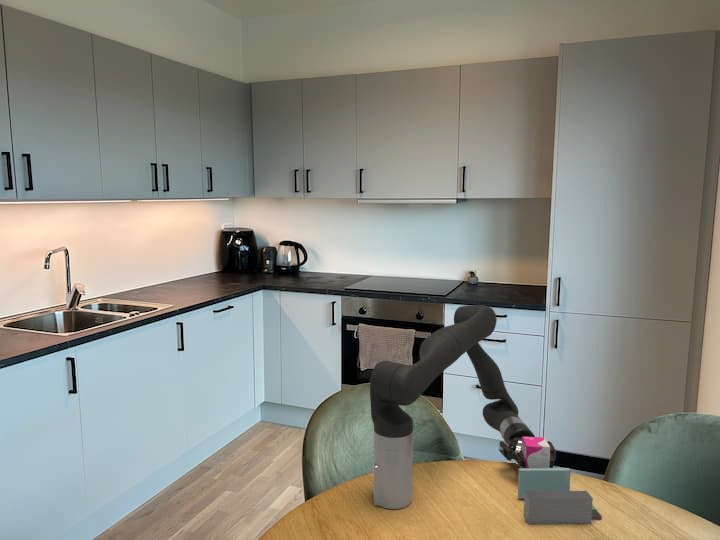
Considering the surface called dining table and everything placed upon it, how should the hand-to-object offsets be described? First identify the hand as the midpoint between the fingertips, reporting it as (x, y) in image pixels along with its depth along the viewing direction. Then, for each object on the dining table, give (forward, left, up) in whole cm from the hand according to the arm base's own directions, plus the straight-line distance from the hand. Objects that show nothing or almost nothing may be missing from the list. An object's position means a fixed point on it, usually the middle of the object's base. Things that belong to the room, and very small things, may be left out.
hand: (538, 464), depth 129 cm
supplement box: (0, +2, -7) cm, 7 cm away
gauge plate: (+2, -4, -6) cm, 8 cm away
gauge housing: (+2, -9, -7) cm, 11 cm away
